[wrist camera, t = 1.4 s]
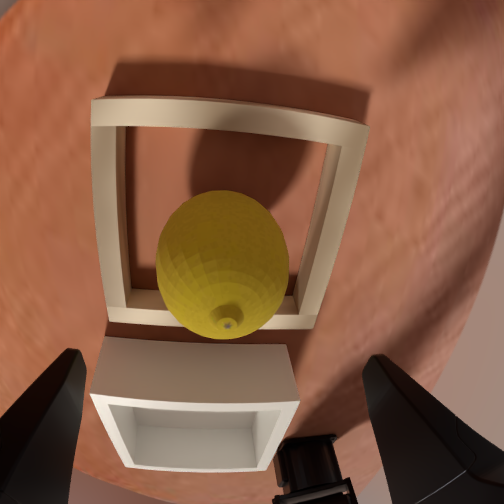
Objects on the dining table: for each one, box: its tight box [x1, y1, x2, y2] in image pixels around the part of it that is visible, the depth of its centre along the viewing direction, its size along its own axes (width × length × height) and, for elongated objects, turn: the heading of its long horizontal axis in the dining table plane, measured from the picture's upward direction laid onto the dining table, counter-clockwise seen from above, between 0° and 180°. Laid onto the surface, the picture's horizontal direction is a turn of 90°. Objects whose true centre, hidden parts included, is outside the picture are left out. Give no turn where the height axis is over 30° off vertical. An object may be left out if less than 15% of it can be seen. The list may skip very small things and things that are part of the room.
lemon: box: [156, 190, 289, 339], centre depth 14 cm, size 6×6×8 cm
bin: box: [90, 336, 300, 472], centre depth 23 cm, size 13×13×5 cm
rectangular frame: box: [91, 95, 370, 329], centre depth 16 cm, size 12×12×2 cm
